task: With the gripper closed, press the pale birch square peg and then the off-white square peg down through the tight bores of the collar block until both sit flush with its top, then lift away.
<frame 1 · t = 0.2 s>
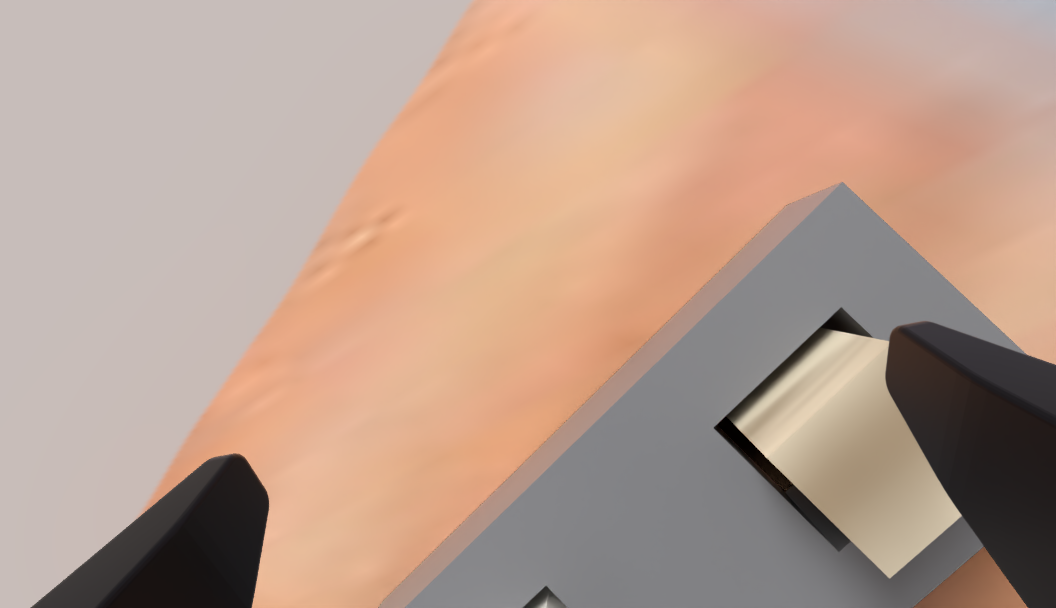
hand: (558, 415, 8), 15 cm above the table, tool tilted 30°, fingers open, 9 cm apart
birch peg: (848, 435, 17), point 6 cm above the table, slide at 0.0 cm
collar block: (668, 506, 23), on the table
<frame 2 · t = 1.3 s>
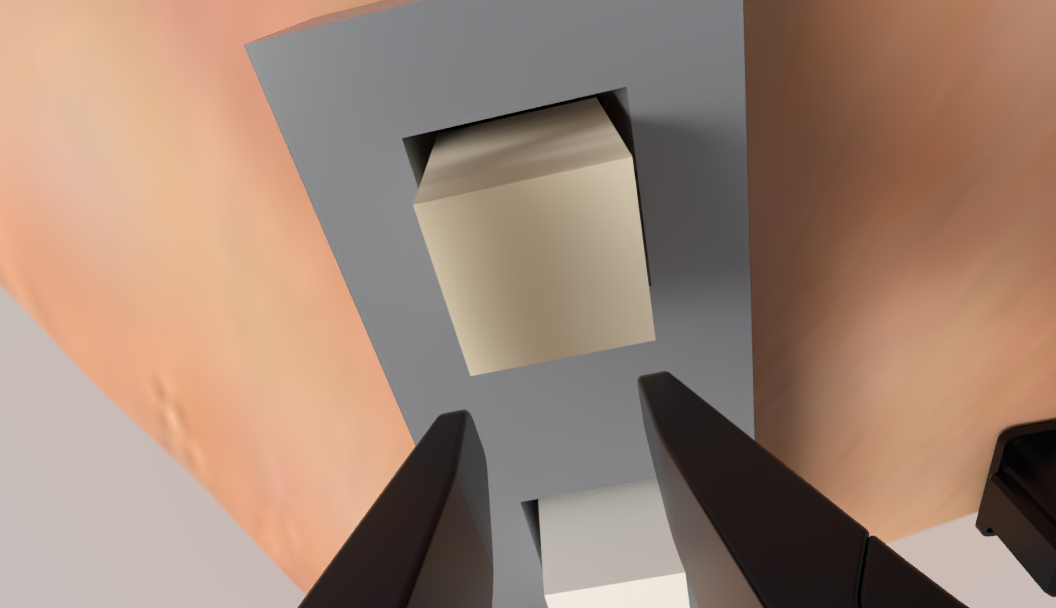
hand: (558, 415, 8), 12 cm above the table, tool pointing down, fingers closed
birch peg: (537, 227, 14), point 6 cm above the table, slide at 0.0 cm
white peg: (610, 553, 20), point 6 cm above the table, slide at 0.0 cm
collar block: (563, 314, 22), on the table
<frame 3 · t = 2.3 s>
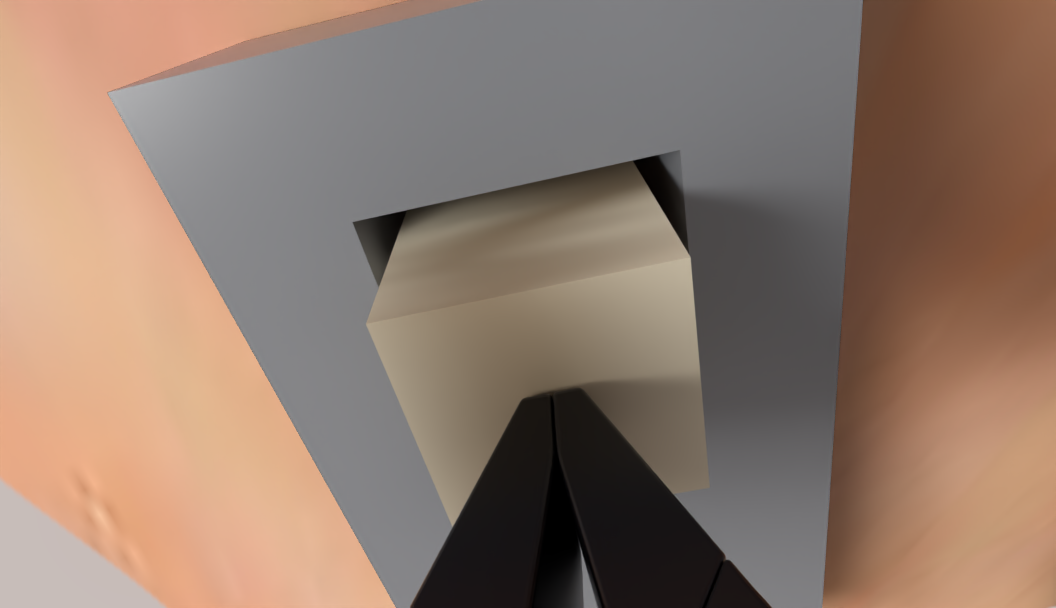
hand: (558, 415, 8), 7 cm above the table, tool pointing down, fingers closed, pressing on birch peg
birch peg: (545, 320, 10), point 5 cm above the table, slide at 0.7 cm, touching gripper
collar block: (575, 399, 18), on the table
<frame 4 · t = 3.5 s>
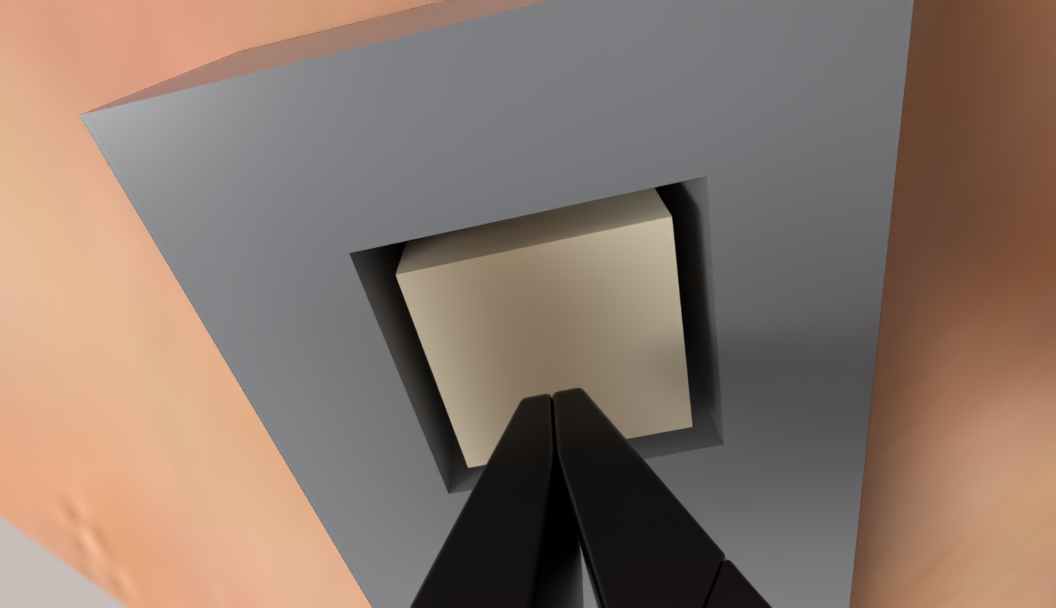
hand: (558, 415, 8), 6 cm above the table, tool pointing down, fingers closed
birch peg: (547, 284, 12), point 3 cm above the table, slide at 3.1 cm
collar block: (583, 422, 17), on the table
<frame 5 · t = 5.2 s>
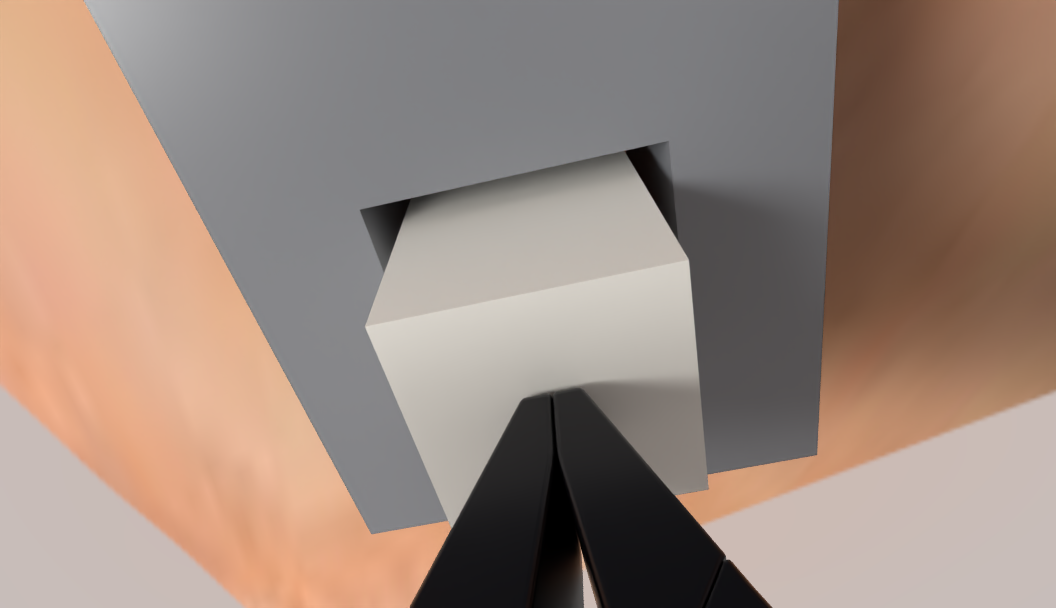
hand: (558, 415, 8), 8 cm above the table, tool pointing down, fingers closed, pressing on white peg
white peg: (544, 322, 10), point 5 cm above the table, slide at 0.1 cm, touching gripper
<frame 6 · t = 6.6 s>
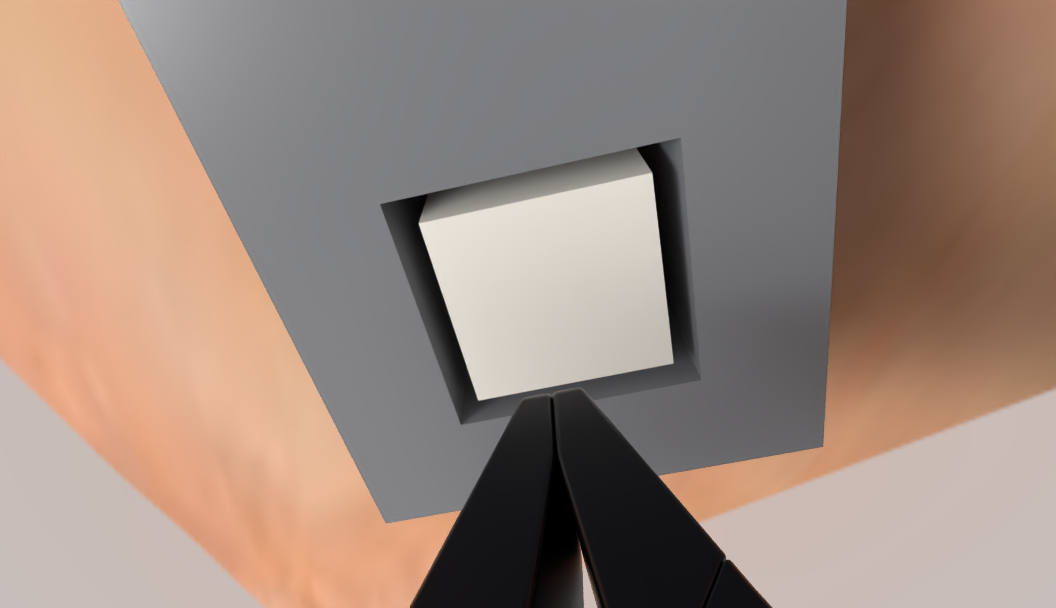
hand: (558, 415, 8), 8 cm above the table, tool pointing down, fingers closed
white peg: (548, 243, 13), point 3 cm above the table, slide at 3.1 cm
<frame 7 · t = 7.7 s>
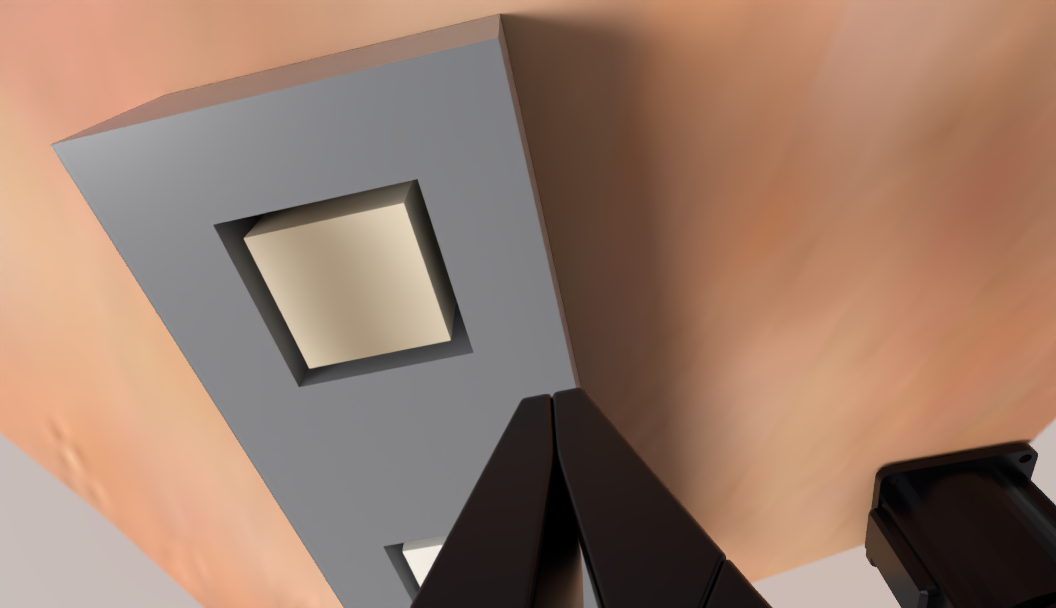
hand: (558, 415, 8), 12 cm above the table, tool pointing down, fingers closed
birch peg: (371, 250, 17), point 3 cm above the table, slide at 3.1 cm
white peg: (476, 521, 23), point 3 cm above the table, slide at 3.1 cm
collar block: (438, 362, 22), on the table
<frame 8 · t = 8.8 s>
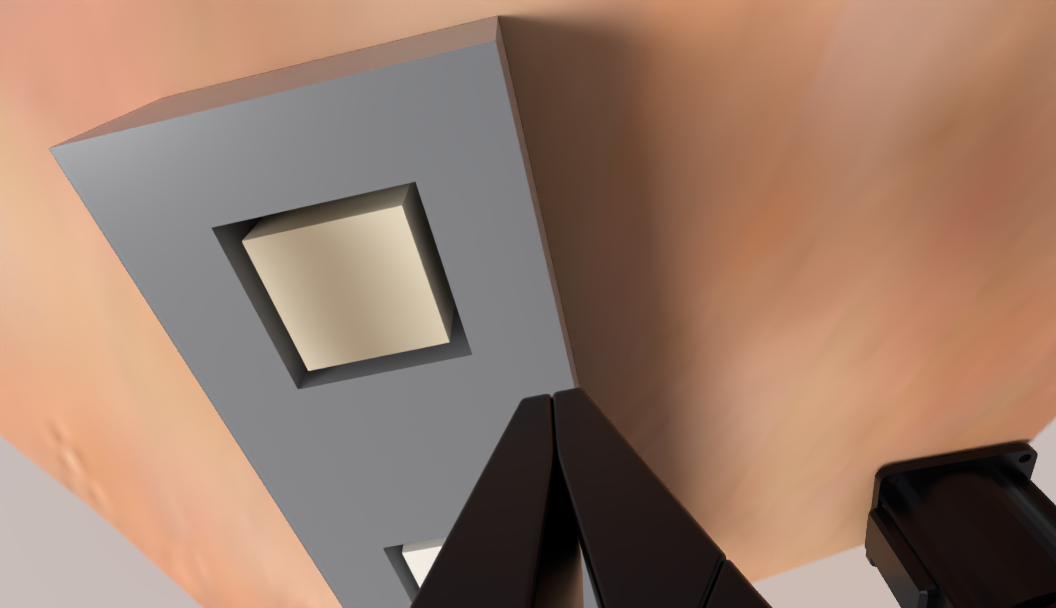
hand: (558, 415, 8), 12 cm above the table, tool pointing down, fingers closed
birch peg: (369, 253, 17), point 3 cm above the table, slide at 3.1 cm
white peg: (476, 523, 23), point 3 cm above the table, slide at 3.1 cm
collar block: (438, 363, 23), on the table
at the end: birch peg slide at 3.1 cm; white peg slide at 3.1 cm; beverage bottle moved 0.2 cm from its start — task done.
